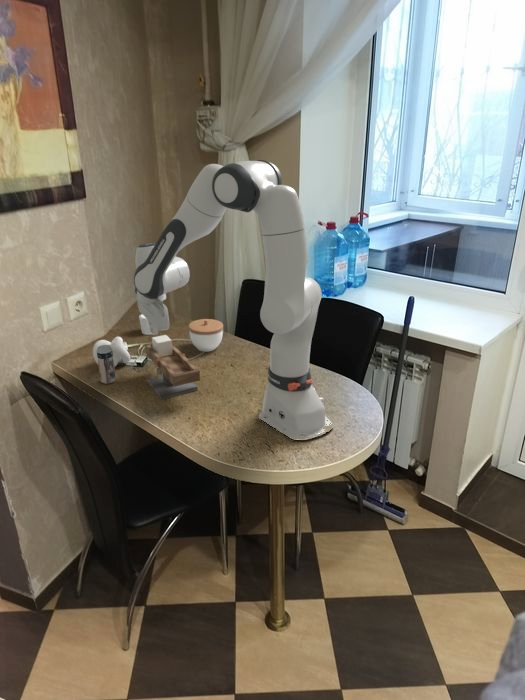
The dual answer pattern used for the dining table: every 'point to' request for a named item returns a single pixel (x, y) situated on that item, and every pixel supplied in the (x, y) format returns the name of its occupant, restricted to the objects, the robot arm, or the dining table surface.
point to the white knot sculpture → (113, 350)
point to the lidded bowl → (206, 334)
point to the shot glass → (144, 325)
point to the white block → (162, 345)
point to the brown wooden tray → (172, 373)
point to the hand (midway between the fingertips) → (154, 333)
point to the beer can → (106, 364)
